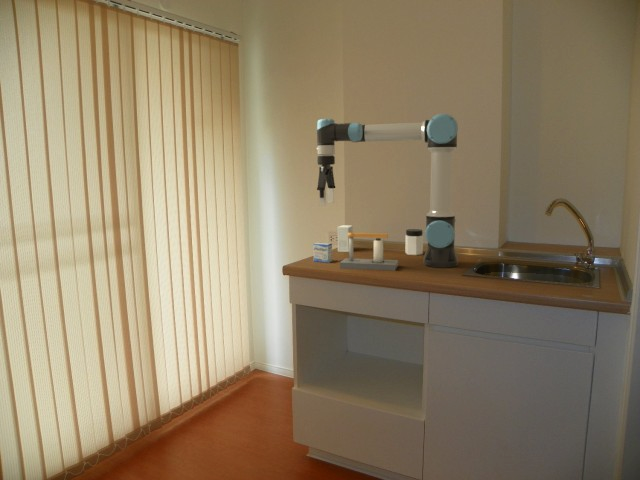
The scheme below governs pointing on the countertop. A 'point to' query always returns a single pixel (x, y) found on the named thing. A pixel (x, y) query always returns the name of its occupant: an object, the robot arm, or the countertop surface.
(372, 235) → the bar
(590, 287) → the countertop surface
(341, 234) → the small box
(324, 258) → the medicine box
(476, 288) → the countertop surface
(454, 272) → the countertop surface
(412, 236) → the jar
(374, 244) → the plug
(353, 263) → the grey post stand
